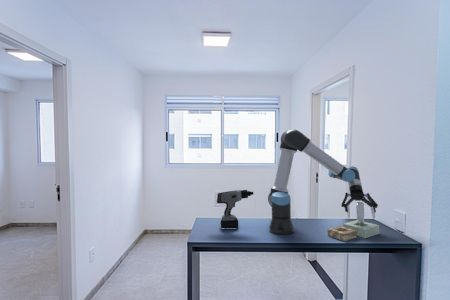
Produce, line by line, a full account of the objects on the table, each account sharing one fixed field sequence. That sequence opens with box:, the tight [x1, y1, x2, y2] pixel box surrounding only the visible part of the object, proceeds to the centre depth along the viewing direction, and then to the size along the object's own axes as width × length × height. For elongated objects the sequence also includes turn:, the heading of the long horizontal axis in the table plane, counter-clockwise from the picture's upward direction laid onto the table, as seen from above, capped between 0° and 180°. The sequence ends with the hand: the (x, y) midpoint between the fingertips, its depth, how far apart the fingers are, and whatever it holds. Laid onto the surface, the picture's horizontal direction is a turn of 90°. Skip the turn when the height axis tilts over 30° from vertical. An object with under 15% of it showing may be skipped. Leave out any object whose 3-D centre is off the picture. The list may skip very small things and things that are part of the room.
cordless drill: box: [216, 189, 254, 229], centre depth 179 cm, size 8×24×25 cm, turn 89°
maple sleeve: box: [327, 225, 358, 242], centre depth 158 cm, size 11×11×4 cm
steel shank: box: [355, 201, 365, 227], centre depth 164 cm, size 4×4×18 cm
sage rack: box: [342, 219, 380, 239], centre depth 164 cm, size 14×14×5 cm
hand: (361, 216), depth 161 cm, fingers open, 13 cm apart
